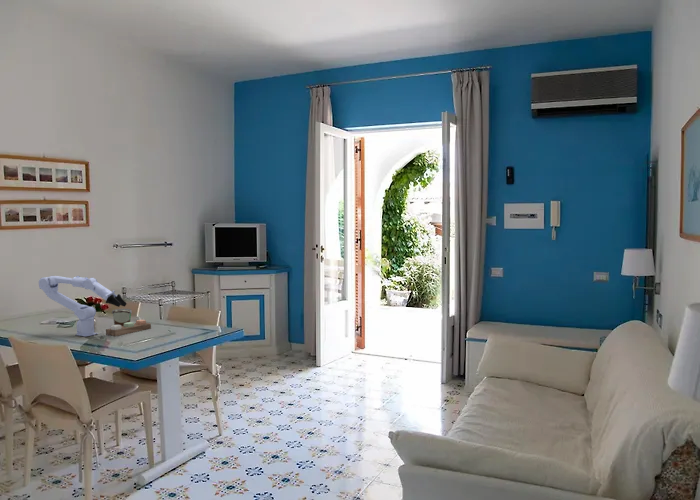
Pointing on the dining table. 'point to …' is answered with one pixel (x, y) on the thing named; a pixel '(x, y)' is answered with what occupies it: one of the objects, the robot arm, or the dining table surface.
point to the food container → (121, 316)
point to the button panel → (128, 329)
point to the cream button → (115, 327)
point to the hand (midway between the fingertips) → (122, 305)
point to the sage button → (128, 324)
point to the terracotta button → (141, 322)
